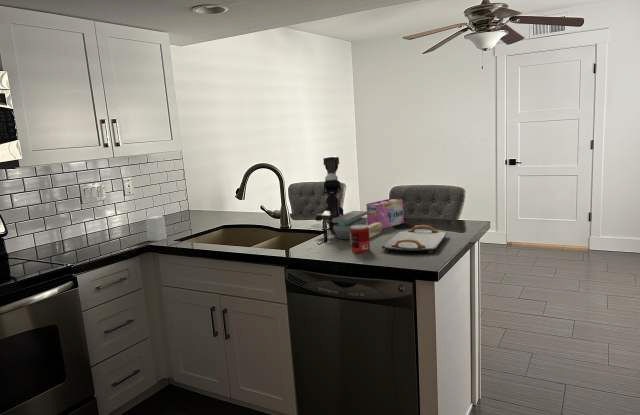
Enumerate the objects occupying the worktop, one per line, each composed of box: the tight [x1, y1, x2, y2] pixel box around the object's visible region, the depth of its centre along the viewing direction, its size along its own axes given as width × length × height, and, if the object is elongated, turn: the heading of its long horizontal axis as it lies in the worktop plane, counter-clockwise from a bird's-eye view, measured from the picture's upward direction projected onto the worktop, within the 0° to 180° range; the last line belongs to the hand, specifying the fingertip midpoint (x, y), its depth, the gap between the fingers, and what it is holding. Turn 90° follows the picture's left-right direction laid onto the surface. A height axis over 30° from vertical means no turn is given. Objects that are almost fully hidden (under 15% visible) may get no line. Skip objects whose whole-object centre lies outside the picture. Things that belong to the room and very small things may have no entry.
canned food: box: [351, 224, 371, 254], centre depth 206 cm, size 8×8×11 cm
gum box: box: [365, 198, 405, 230], centre depth 261 cm, size 24×8×14 cm, turn 134°
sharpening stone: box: [332, 210, 367, 240], centre depth 237 cm, size 25×8×11 cm, turn 152°
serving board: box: [381, 224, 448, 255], centre depth 213 cm, size 39×23×6 cm, turn 157°
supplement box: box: [144, 215, 167, 242], centre depth 265 cm, size 7×7×13 cm
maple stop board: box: [349, 222, 383, 245], centre depth 233 cm, size 3×30×5 cm, turn 150°
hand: (334, 234), depth 243 cm, fingers closed
